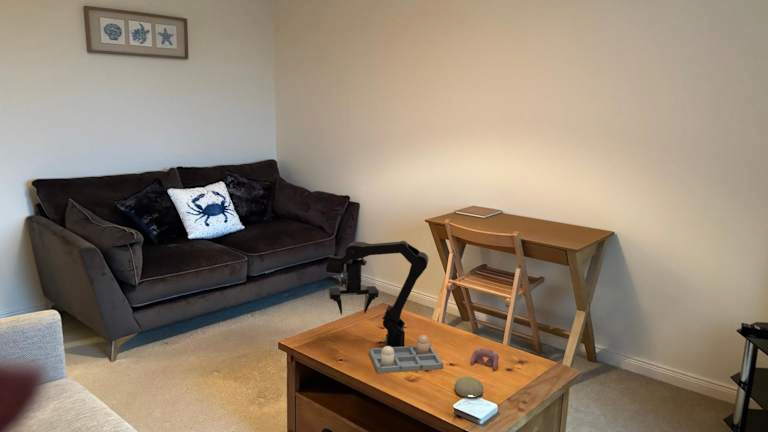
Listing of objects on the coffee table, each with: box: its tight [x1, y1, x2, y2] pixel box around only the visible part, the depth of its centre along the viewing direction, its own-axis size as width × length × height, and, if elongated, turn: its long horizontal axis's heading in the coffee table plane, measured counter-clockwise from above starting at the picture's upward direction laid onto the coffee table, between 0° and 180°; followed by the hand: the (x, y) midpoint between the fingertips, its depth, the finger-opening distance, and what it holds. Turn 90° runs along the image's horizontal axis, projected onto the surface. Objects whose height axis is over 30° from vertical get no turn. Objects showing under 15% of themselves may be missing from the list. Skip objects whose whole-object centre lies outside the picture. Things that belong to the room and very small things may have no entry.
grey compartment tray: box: [368, 344, 444, 374], centre depth 216 cm, size 24×16×2 cm
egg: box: [381, 345, 394, 367], centre depth 210 cm, size 5×5×8 cm
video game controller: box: [469, 348, 500, 371], centre depth 215 cm, size 10×5×7 cm, turn 67°
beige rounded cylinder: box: [416, 334, 430, 355], centre depth 221 cm, size 5×5×8 cm
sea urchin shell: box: [454, 376, 484, 397], centre depth 196 cm, size 9×8×8 cm
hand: (353, 313), depth 229 cm, fingers open, 9 cm apart
